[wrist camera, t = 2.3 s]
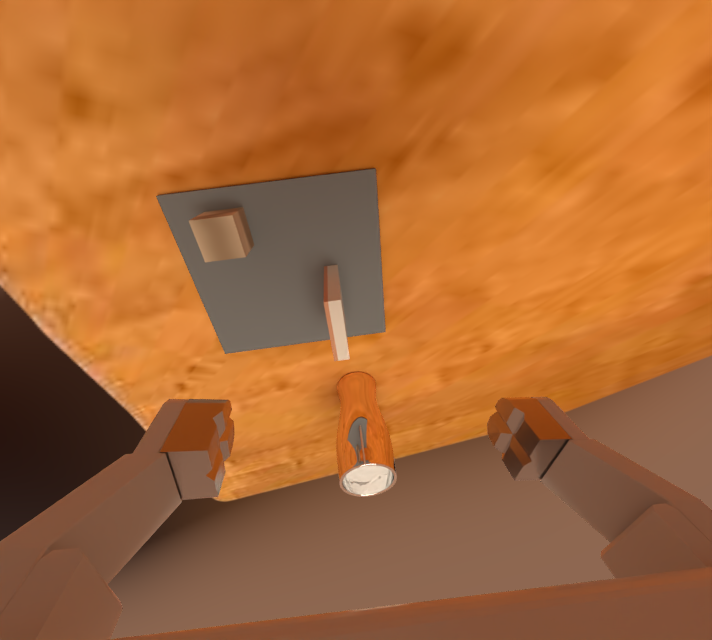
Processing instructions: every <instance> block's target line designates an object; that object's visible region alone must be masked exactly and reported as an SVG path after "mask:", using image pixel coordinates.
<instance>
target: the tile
mask: <svg viewBox="0 0 712 640" xmlns="http://www.w3.org/2000/svg"><path fill="white" fill-rule="evenodd" d="M323 302H324V308H325V313H326V318H327V324H328V329H329V335H330V340H331V345H332V351H333V356H334V361H339V360H347V359H350V357H349V348H348V339H347V330H346V321H345V313H344V306H343V299H342V292H341V285H340V278H339V271H338V265H330V266H324V301H323Z"/></svg>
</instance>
